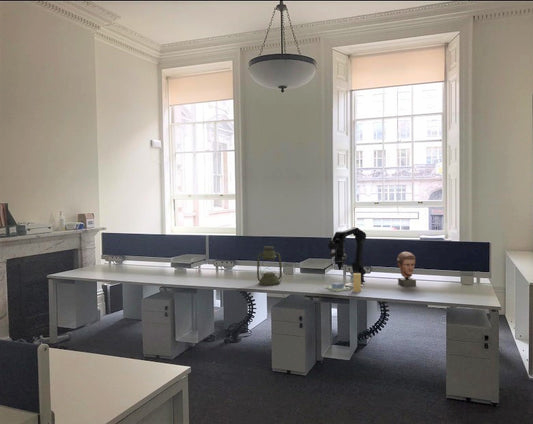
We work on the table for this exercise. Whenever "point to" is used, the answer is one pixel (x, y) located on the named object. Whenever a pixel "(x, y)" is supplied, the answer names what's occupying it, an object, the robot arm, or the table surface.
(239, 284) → the table surface
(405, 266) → the bust
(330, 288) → the baseplate
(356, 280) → the pillar brick
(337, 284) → the base brick
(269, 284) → the lantern
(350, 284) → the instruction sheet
